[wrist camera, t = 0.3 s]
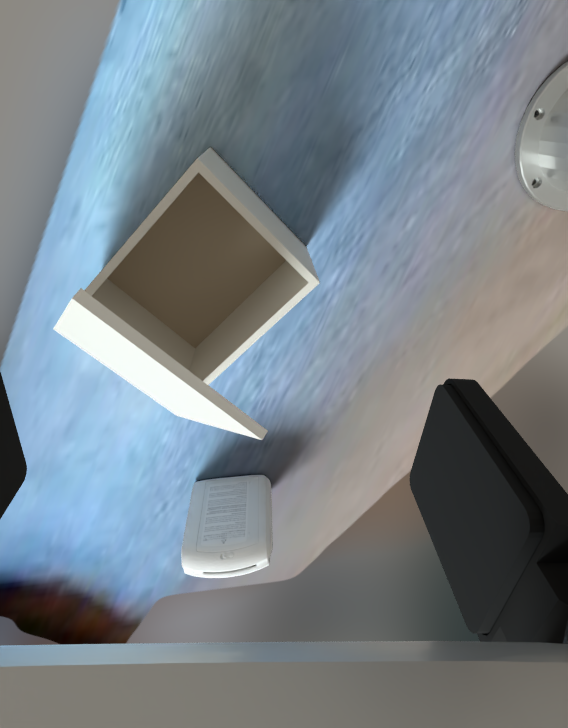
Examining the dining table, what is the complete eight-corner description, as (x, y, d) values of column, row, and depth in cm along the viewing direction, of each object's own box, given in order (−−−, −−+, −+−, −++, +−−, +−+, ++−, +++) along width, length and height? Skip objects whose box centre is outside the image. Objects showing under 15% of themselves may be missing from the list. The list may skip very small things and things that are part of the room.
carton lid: (80, 287, 20) (72, 298, 20) (267, 431, 24) (262, 440, 24) (58, 323, 33) (53, 329, 33) (180, 409, 38) (176, 415, 38)
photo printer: (195, 502, 58) (181, 591, 47) (188, 478, 56) (172, 566, 45) (272, 493, 58) (276, 580, 47) (269, 469, 56) (272, 555, 45)
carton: (210, 146, 37) (197, 158, 29) (306, 246, 42) (319, 282, 33) (99, 276, 42) (59, 319, 34) (196, 352, 47) (183, 407, 38)
